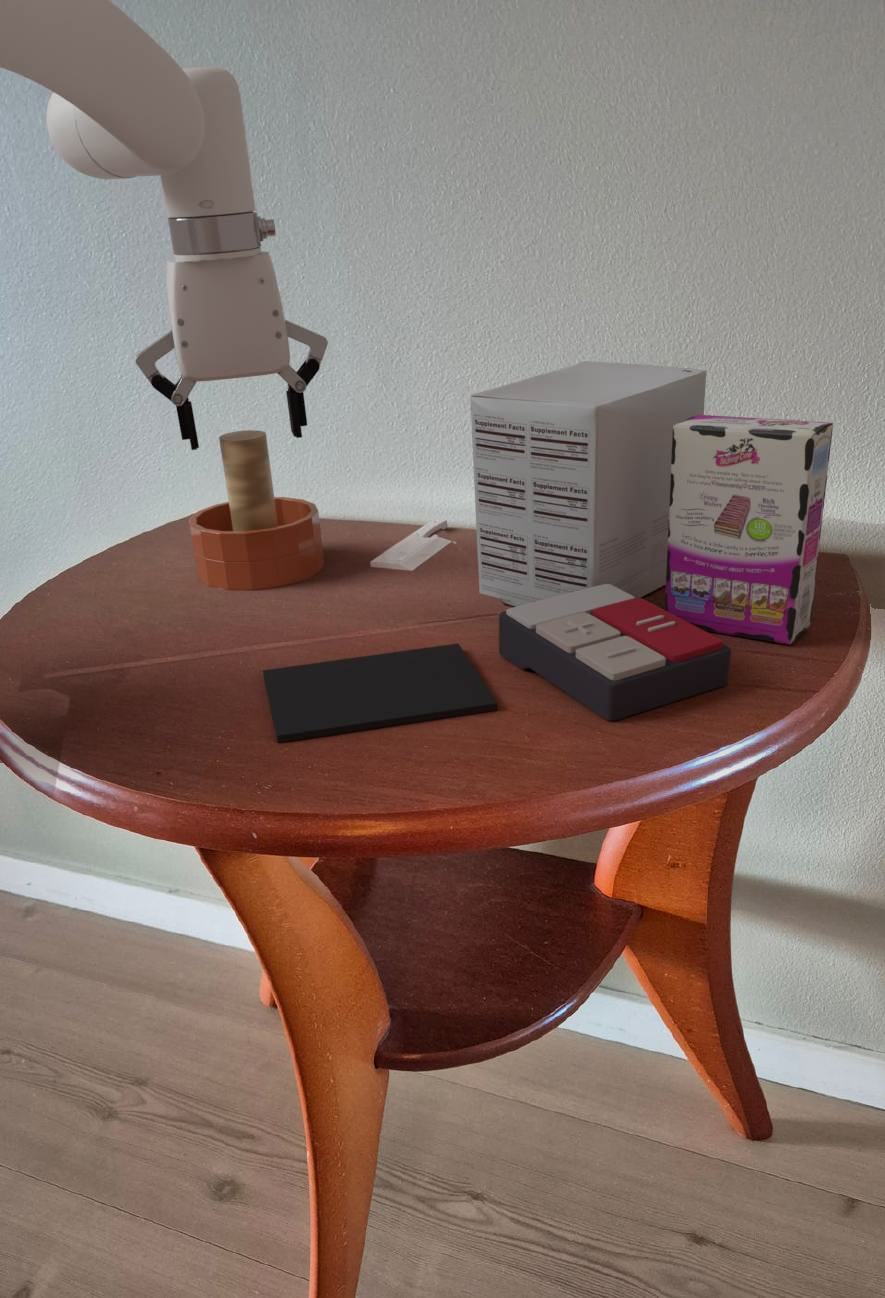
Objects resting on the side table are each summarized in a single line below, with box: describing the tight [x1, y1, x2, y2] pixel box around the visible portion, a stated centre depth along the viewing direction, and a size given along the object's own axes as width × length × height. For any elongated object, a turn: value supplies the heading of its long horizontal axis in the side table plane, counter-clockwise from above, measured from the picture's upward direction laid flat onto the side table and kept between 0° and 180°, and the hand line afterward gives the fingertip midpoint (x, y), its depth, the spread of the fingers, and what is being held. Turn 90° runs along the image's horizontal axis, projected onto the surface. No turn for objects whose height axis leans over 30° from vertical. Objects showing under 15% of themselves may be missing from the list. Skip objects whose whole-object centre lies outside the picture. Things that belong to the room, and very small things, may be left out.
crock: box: [188, 496, 325, 592], centre depth 107 cm, size 12×12×6 cm
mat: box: [262, 643, 499, 744], centre depth 83 cm, size 16×12×1 cm
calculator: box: [498, 584, 732, 722], centre depth 83 cm, size 11×4×15 cm
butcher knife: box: [369, 518, 458, 572], centre depth 112 cm, size 5×15×1 cm, turn 155°
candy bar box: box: [663, 414, 834, 646], centre depth 86 cm, size 11×5×16 cm, turn 55°
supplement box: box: [469, 360, 707, 607], centre depth 97 cm, size 17×13×18 cm
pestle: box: [218, 429, 278, 531], centre depth 105 cm, size 4×4×13 cm
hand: (246, 440), depth 103 cm, fingers open, 9 cm apart
